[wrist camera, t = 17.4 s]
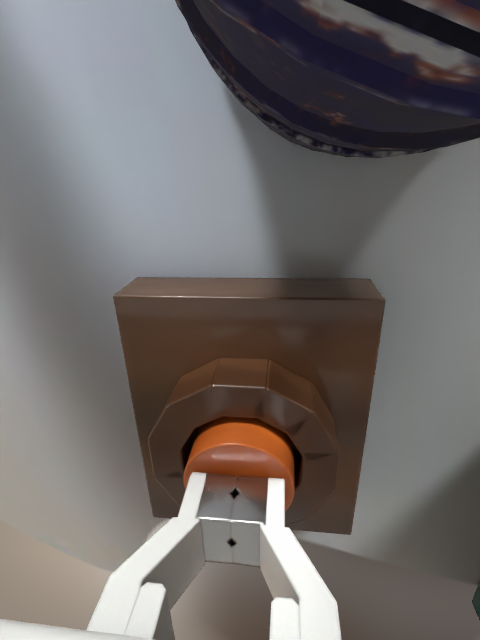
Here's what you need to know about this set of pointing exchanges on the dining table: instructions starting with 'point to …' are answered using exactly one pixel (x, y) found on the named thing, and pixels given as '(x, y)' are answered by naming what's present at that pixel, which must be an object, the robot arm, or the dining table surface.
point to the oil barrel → (349, 69)
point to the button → (243, 451)
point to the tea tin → (477, 601)
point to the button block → (255, 378)
